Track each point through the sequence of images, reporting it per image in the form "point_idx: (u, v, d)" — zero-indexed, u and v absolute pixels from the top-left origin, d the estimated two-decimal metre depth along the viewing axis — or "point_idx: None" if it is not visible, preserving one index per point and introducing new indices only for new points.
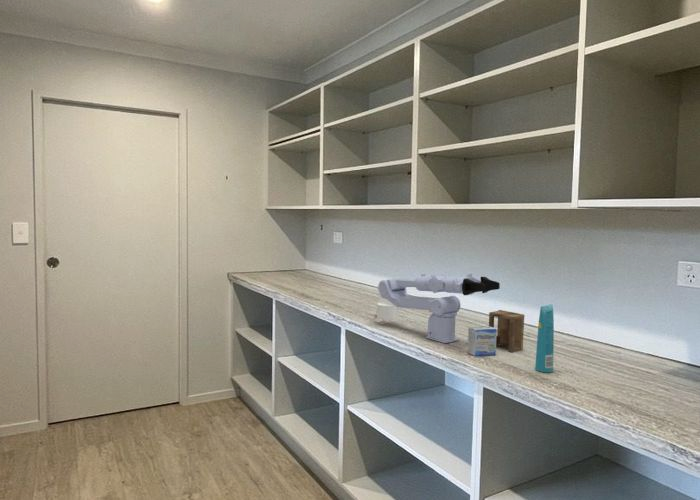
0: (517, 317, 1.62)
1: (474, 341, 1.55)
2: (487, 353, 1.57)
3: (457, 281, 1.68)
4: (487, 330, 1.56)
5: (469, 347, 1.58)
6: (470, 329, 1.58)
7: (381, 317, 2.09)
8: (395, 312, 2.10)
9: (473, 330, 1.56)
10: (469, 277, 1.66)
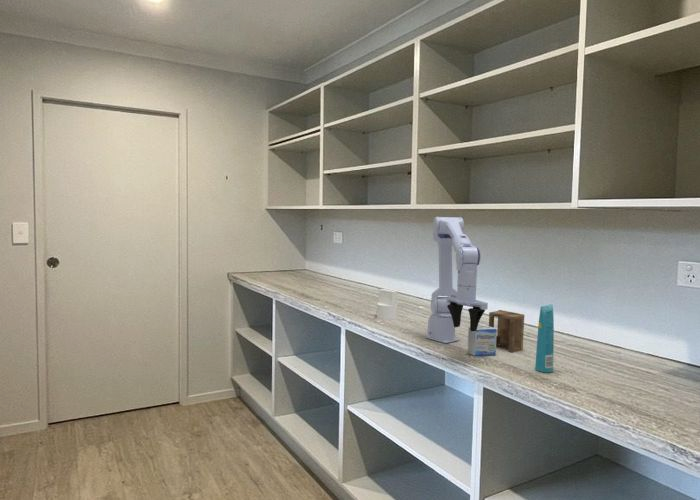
0: (517, 317, 1.62)
1: (474, 341, 1.55)
2: (487, 353, 1.57)
3: (457, 289, 1.52)
4: (487, 330, 1.56)
5: (469, 347, 1.58)
6: None
7: (381, 317, 2.09)
8: (395, 312, 2.10)
9: None
10: None
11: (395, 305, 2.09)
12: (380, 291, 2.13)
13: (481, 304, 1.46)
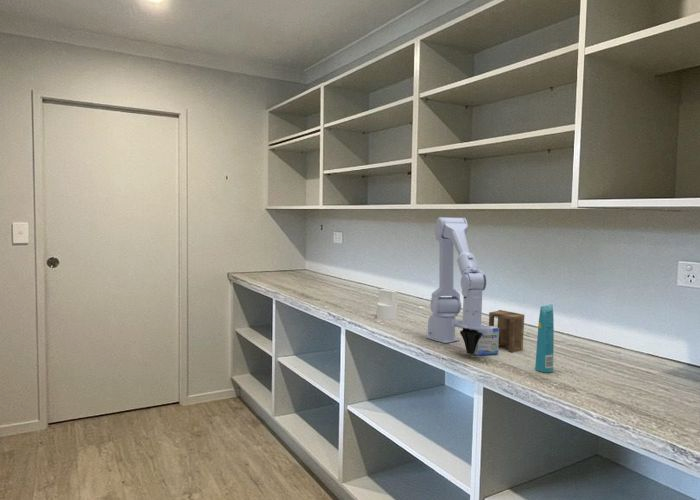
0: (517, 317, 1.62)
1: None
2: (490, 352, 1.57)
3: None
4: None
5: None
6: None
7: (381, 317, 2.09)
8: (395, 312, 2.10)
9: None
10: None
11: (395, 305, 2.09)
12: (380, 291, 2.13)
13: (486, 330, 1.49)
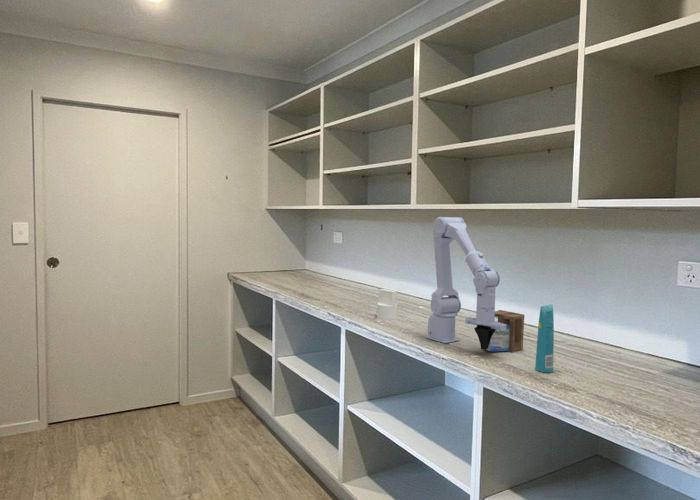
0: (517, 317, 1.62)
1: None
2: (501, 349, 1.61)
3: (476, 311, 1.59)
4: None
5: None
6: None
7: (381, 317, 2.09)
8: (395, 312, 2.10)
9: None
10: None
11: (395, 305, 2.09)
12: (380, 291, 2.13)
13: (500, 326, 1.52)
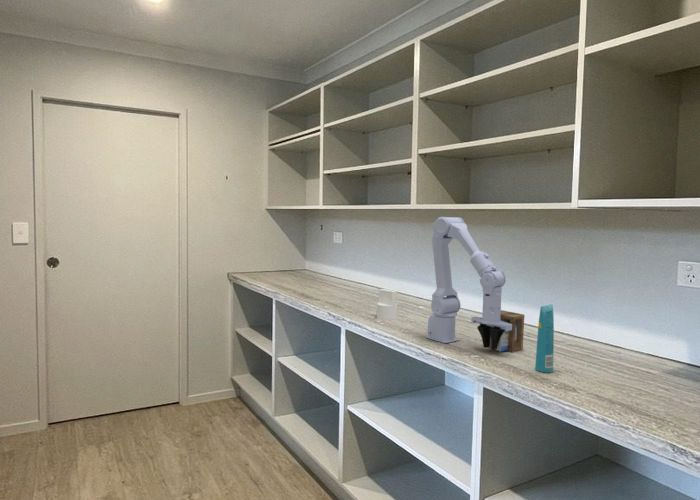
0: (517, 317, 1.62)
1: None
2: None
3: None
4: None
5: None
6: None
7: (381, 317, 2.09)
8: (395, 312, 2.10)
9: None
10: None
11: (395, 305, 2.09)
12: (380, 291, 2.13)
13: (506, 325, 1.55)
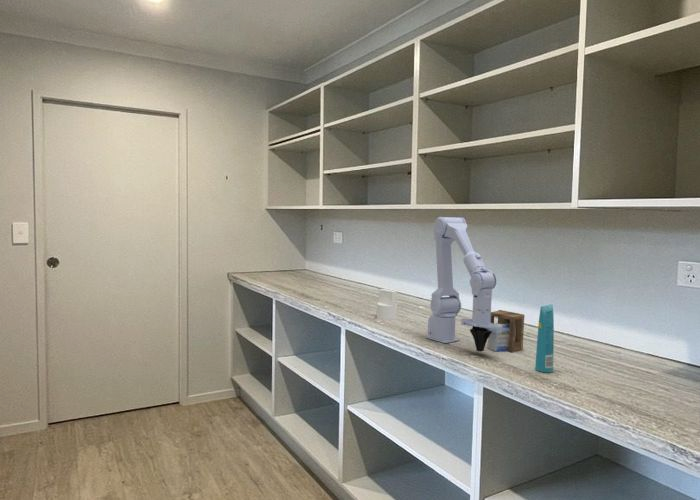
0: (517, 317, 1.62)
1: (496, 337, 1.61)
2: (507, 348, 1.63)
3: None
4: (507, 326, 1.63)
5: (490, 343, 1.64)
6: None
7: (381, 317, 2.09)
8: (395, 312, 2.10)
9: None
10: None
11: (395, 305, 2.09)
12: (380, 291, 2.13)
13: (496, 328, 1.52)
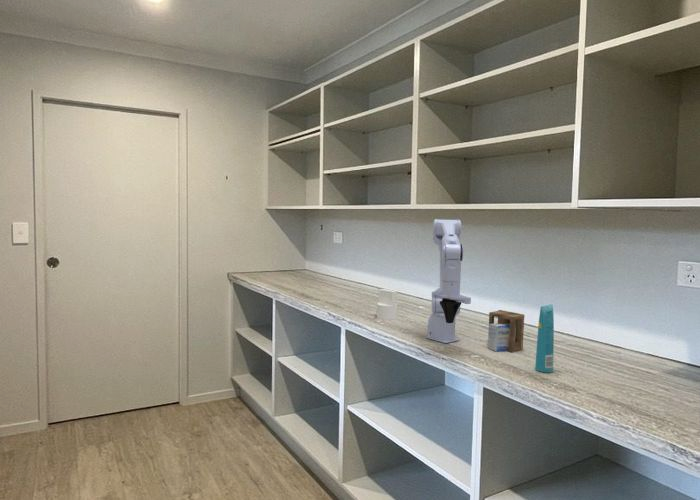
0: (517, 317, 1.62)
1: (496, 337, 1.61)
2: (507, 348, 1.63)
3: None
4: (507, 326, 1.63)
5: (490, 343, 1.64)
6: (490, 325, 1.64)
7: (381, 317, 2.09)
8: (395, 312, 2.10)
9: (494, 327, 1.62)
10: None
11: (395, 305, 2.09)
12: (380, 291, 2.13)
13: (464, 299, 1.52)
